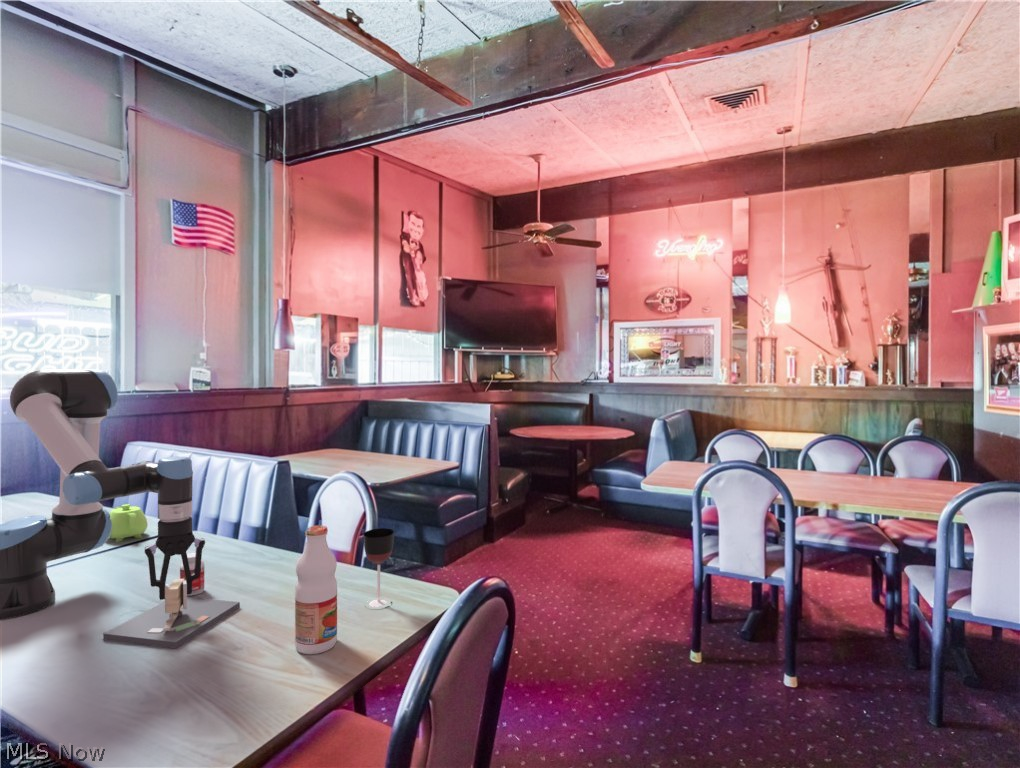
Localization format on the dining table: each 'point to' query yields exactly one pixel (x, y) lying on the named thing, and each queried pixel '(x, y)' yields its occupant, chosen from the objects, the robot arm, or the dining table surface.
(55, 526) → the robot arm
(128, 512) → the teapot
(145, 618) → the dial board
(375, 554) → the wineglass
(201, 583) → the pill bottle
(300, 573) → the fruit juice
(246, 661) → the dining table surface
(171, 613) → the beige boxy piece
